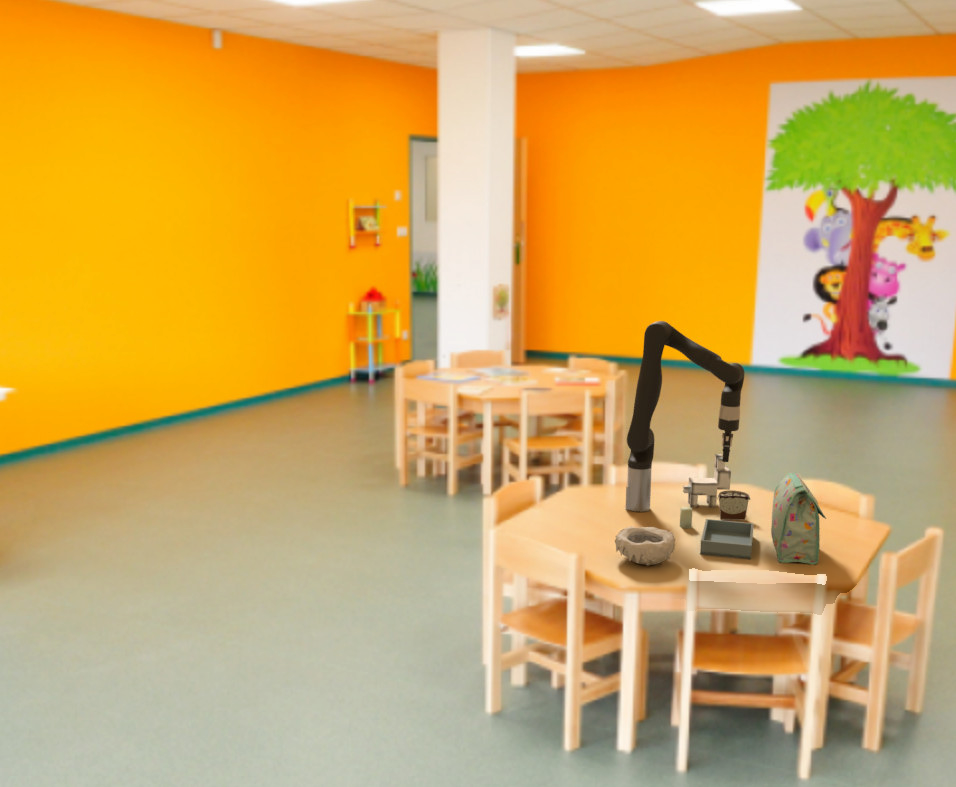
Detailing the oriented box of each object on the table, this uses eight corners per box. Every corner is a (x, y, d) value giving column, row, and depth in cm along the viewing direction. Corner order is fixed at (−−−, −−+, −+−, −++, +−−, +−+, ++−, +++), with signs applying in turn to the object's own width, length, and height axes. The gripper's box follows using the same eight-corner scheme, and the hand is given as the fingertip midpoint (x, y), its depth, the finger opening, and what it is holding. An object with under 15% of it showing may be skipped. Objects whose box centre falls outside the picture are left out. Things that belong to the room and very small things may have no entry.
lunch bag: (824, 566, 337) (830, 490, 331) (773, 563, 340) (778, 487, 334) (814, 543, 359) (819, 470, 354) (766, 540, 362) (771, 468, 356)
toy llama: (681, 501, 406) (683, 453, 402) (725, 501, 405) (727, 454, 401) (684, 507, 399) (686, 458, 395) (728, 507, 398) (731, 459, 394)
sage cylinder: (679, 527, 375) (680, 509, 373) (680, 523, 379) (681, 506, 378) (691, 528, 374) (691, 510, 372) (692, 525, 378) (692, 507, 376)
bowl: (682, 571, 332) (684, 543, 330) (622, 573, 331) (623, 544, 329) (666, 549, 353) (667, 522, 351) (609, 551, 351) (610, 523, 349)
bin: (700, 554, 348) (700, 540, 347) (705, 531, 371) (705, 518, 369) (750, 559, 343) (751, 545, 342) (752, 536, 366) (753, 523, 365)
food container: (746, 515, 389) (747, 490, 387) (749, 520, 383) (750, 495, 381) (714, 514, 390) (715, 489, 388) (716, 519, 384) (717, 494, 382)
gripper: (719, 411, 380) (716, 452, 384) (718, 420, 367) (714, 462, 370) (740, 413, 378) (736, 454, 382) (739, 422, 365) (735, 464, 368)
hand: (725, 458), depth 376 cm, fingers open, 8 cm apart
